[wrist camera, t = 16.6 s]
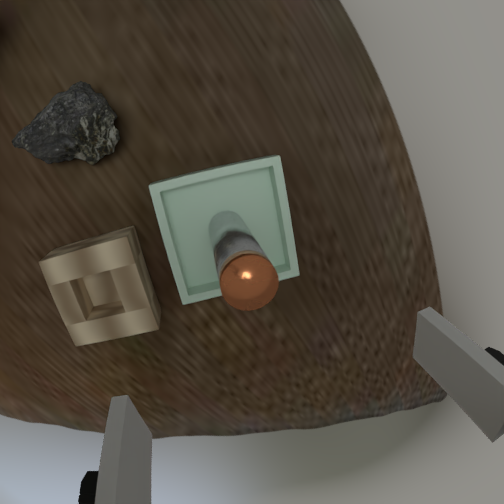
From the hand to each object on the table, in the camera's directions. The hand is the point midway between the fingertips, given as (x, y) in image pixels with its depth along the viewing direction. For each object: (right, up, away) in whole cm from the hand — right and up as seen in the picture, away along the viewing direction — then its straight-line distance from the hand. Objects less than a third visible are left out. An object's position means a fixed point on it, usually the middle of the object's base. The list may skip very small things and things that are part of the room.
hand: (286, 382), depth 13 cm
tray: (-5, +9, +27) cm, 29 cm away
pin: (-4, +8, +27) cm, 28 cm away
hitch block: (-20, +2, +26) cm, 33 cm away
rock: (-22, +20, +20) cm, 36 cm away
